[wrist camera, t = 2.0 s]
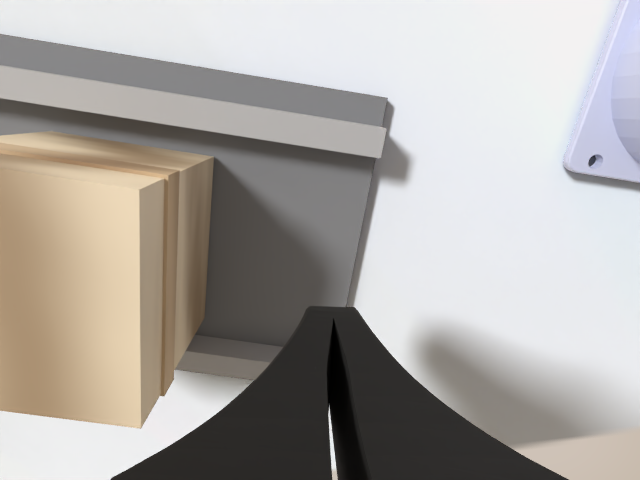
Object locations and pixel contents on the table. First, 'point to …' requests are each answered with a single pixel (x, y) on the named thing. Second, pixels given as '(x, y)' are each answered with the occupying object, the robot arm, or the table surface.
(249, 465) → the robot arm
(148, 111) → the crate bay
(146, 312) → the block
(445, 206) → the table surface
